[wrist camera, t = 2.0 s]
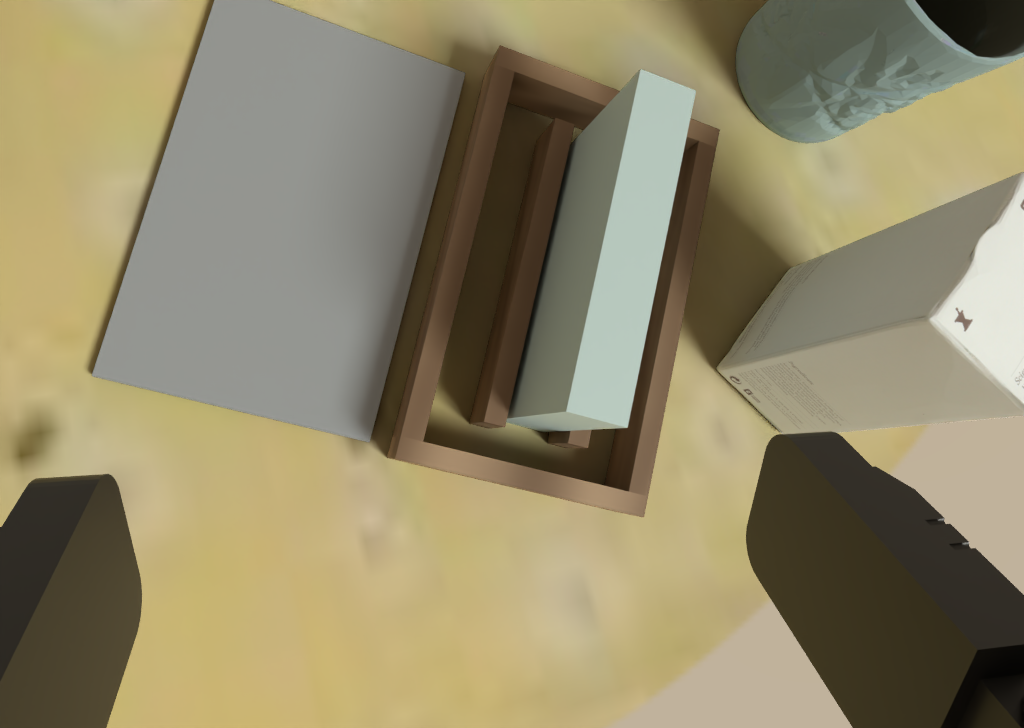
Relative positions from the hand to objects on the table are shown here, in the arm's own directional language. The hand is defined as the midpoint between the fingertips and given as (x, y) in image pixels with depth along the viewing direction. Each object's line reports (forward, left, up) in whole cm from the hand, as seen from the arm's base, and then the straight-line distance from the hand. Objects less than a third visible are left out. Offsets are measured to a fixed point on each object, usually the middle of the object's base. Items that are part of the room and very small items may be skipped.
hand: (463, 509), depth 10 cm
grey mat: (-5, +11, -27) cm, 29 cm away
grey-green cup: (+20, +28, -27) cm, 44 cm away
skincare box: (+22, +12, -27) cm, 37 cm away
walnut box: (+8, +11, -27) cm, 30 cm away
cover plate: (+8, +11, -27) cm, 30 cm away
